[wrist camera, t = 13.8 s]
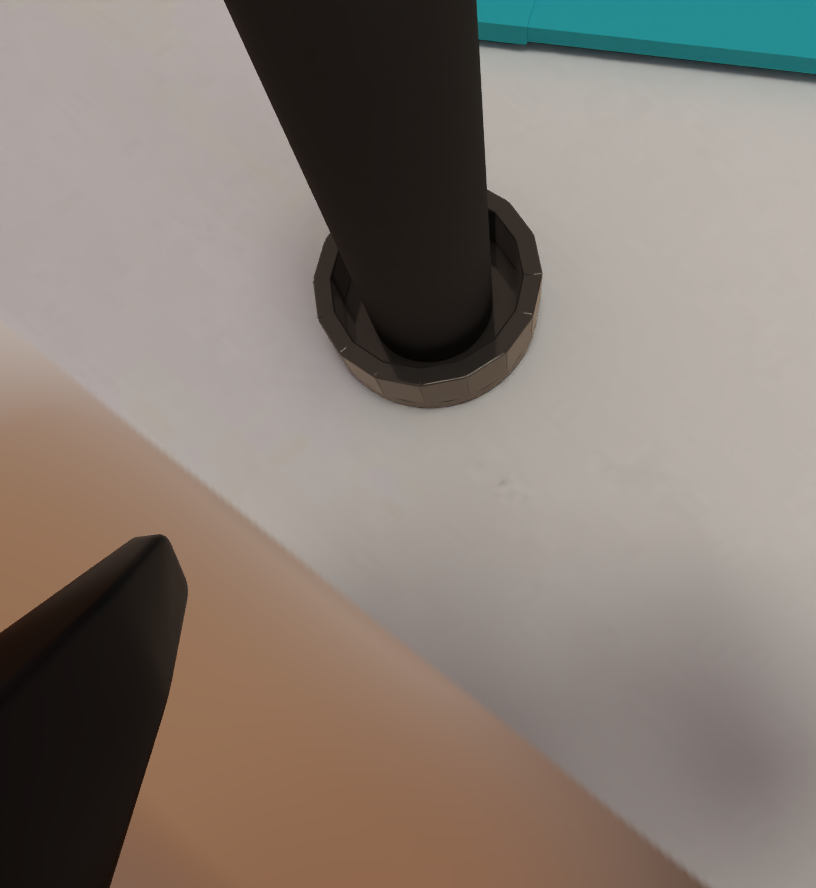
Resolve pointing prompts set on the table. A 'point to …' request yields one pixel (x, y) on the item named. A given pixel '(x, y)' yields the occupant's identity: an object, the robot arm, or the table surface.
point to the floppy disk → (664, 28)
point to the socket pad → (459, 374)
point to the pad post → (388, 152)
